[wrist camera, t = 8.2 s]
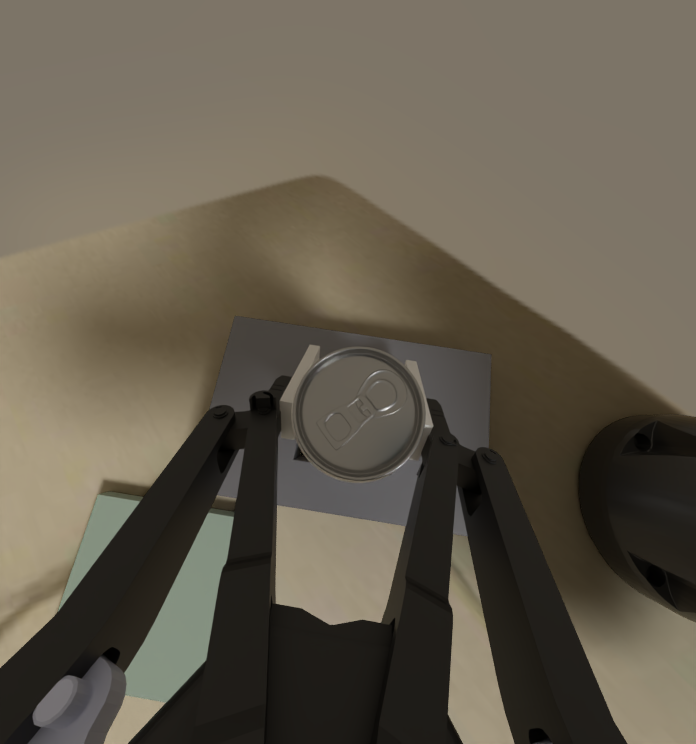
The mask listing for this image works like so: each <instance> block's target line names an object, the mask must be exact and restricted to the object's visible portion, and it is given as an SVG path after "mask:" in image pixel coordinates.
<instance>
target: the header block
mask: <svg viewBox="0 0 696 744" xmlns="http://www.w3.org/2000/svg"><path fill="white" fill-rule="evenodd" d="M309 345H316V346H320V355H319V359H321V358H322V357H324V356H325V355H327V354H329V353H331V352H333V351H336V350H339V349H343V348H347V347H370V348H374V349H378V350H381V351H384V352H386V353H388V354H390V355H392V356H393V357H395V358H396V359H398V360H399V361H400V362H402V363H403V364H404V365H405V361H406V360H411V361H416V362H417V366H418V370H419V373H420V377H421V381H422V385H423V389H424V392H425V396H426V398H429V399H435V400H437V401H438V402H439V404H440V405H441V407H442V410H443V413H444V416H445V419H446V422H447V425H448V428H449V431H450V433H451V434H452V435H454V436H455V437H456V438H457V439H458V441H459V444H460V445H462V446H464V447H466V448H468V449H471V450H473V451H476V450H477V448H480V447H487V448H489V422H490V387H491V354H486V353H479V352H472V351H466V350H459V349H453V348H446V347H439V346H433V345H426V344H419V343H413V342H406V341H399V340H393V339H386V338H380V337H373V336H366V335H360V334H353V333H346V332H340V331H333V330H327V329H320V328H313V327H307V326H300V325H293V324H287V323H280V322H273V321H267V320H260V319H254V318H247V317H240V316H235V317H234V321H233V325H232V328H231V332H230V336H229V339H228V343H227V347H226V350H225V354H224V358H223V361H222V365H221V368H220V372H219V376H218V379H217V383H216V387H215V390H214V394H213V398H212V401H211V405H210V409H211V408H213V407H215V406H219V405H228V406H231V407H232V408H233V409H234V412H240V411H249V410H250V404H249V397H250V395H252V394H253V393H255V392H257V391H262V390H267V391H269V389H270V388H271V386H272V385H273V383H274V381H275V380H276V379H277V378H278V377H280V376H281V375H283V376H290V377H293V375H294V373H295V371H296V369H297V368H298V366H299V364H300V362H301V360H302V358H303V356H304V355H305V353H306V351H307V349H308V347H309ZM210 409H209V410H210ZM300 453H301V450H300V448H299V446H298V444H297V442H296V439H294V440H291V439H285V438H281V432H280V434H279V436H278V474H277V505H280V506H286V507H292V508H298V509H305V510H311V511H317V512H323V513H329V514H335V515H341V516H347V517H353V518H359V519H366V520H372V521H378V522H384V523H390V524H396V525H402V526H406V524H407V519H408V515H409V511H410V507H411V502H412V498H413V494H414V490H415V486H416V481H417V477H418V476H417V475H416V474H417V472H418V470H419V468H420V465H421V463H422V456H420V458H419V460H418V461H416V460H410V459H408V461H407V462H406V463H405V464H403V465H402V466H401V467H400V468H399V469H398V470H396V471H395V472H393V473H392V474H390V475H388V476H386V477H384V478H382V479H379V480H376V481H372V482H366V483H351V482H344V481H340V480H337V479H334V478H332V477H330V476H328V475H326V474H324V473H322V472H321V471H320V470H318V469H317V468H316V467H314V466H313V465H312V464H311V463H310V462H309V461H308V459H307V458H306V457H305V456H302V455H300ZM243 455H244V449H239V451H238V453H237V455H236V457H235V459H234V461H233V463H232V465H231V467H230V469H229V471H228V473H227V476H226V478H225V480H224V482H223V484H222V486H221V488H220V490H219V492H218V494H217V495H219V496H225V497H231V498H237V493H238V487H239V480H240V474H241V468H242V461H243ZM453 534H457V535H463V536H467V531H466V526H465V521H464V516H463V512H462V507H461V502H460V497H459V492H458V487H457V488H456V501H455V514H454V527H453Z"/></svg>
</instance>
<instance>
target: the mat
mask: <svg viewBox="0 0 696 744" xmlns="http://www.w3.org/2000/svg"><path fill="white" fill-rule="evenodd" d="M142 498H143V497H141V496H135V495H129V494H123V493H117V492H111V491H109V492H105V493H102V494H98V496H97V499H96V502H95V505H94V508H93V511H92V513H91V516H90V519H89V522H88V525H87V528H86V531H85V534H84V537H83V540H82V542H81V545H80V548H79V551H78V554H77V557H76V560H75V563H74V566H73V568H72V571H71V574H70V577H69V580H68V583H67V586H66V589H65V592H64V595H63V597H62V600H61V603H60V606H59V609H58V611H59V610H60V608H61V607H62V606H63V604H64V603H65V602H66V600H67V599H68V598H69V596H70V595H71V594H72V592H73V591H74V590H75V588H76V587H77V585H78V584H79V583H80V581H81V580H82V579H83V577H84V576H85V575H86V573H87V572H88V571H89V569H90V568H91V567H92V565H93V564H94V563H95V561H96V560H97V559H98V557H99V556H100V555H101V553H102V552H103V551H104V549H105V548H106V547H107V545H108V544H109V543H110V541H111V540H112V539H113V537H114V536H115V535H116V533H117V532H118V531H119V529H120V528H121V527H122V525H123V524H124V523H125V521H126V520H127V519H128V517H129V516H130V515H131V513H132V512H133V511H134V509H135V508H136V506H137V505H138V504H139V502H140V501H141V500H142ZM233 519H234V512H232V511H226V510H220V509H214V508H210V510H209V512H208V514H207V516H206V518H205V520H204V522H203V524H202V526H201V528H200V531H199V533H198V535H197V537H196V539H195V541H194V543H193V545H192V547H191V549H190V551H189V553H188V555H187V557H186V559H185V561H184V563H183V565H182V567H181V569H180V571H179V573H178V575H177V577H176V579H175V581H174V584H173V586H172V588H171V590H170V592H169V594H168V596H167V598H166V600H165V602H164V604H163V606H162V608H161V610H160V612H159V614H158V616H157V618H156V620H155V622H154V624H153V626H152V628H151V630H150V631H149V633H148V635H147V637H146V639H145V641H144V643H143V644H142V646H141V647H140V649H139V651H138V652H137V654H136V656H135V657H134V659H133V660H132V662H131V664H130V665H129V667H128V668H127V670H126V671H125V673H124V674H125V676H126V683H127V685H126V693H125V695H127V696H133V697H138V698H144V699H149V700H155V701H160V702H167V701H168V700H169V699H170V698H171V697H172V696H173V695H174V694H175V693H176V692H177V691H178V690H179V688H180V687H181V686H182V685H183V684H184V683H185V682H186V681H187V680H188V679H189V678H190V677H191V676H192V675H193V674H194V672H195V671H196V670H197V669H198V668H199V667H200V666H201V665H202V664H203V663H204V662H205V661H206V658H207V652H208V646H209V640H210V634H211V628H212V622H213V616H214V610H215V604H216V599H217V593H218V587H219V581H220V576H221V572H222V569H223V566H224V565H225V564H226V561H227V556H228V550H229V544H230V538H231V531H232V525H233Z"/></svg>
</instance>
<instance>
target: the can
mask: <svg viewBox="0 0 696 744" xmlns="http://www.w3.org/2000/svg"><path fill="white" fill-rule="evenodd" d="M425 420H426V410H425V402H424V397H423V394H422V391H421V388H420V386H419V384H418V382H417V380H416V379H415V377H414V376H413V374H412V373H411V372H410V370H409V369H408V368H407V367H406V366H405V365H404V364H403V363H402V362H400V361H399V360H398V359H396V358H395V357H393V356H392V355H390V354H388V353H386V352H384V351H381V350H378V349H374V348H370V347H347V348H343V349H339V350H336V351H333V352H331V353H329V354H327V355H325V356H324V357H322V358H321V359H319V360H318V361H317V362H316V363H315V364H313V365H312V366H311V367H310V369H309V370H308V371H307V372H306V374H305V375H304V376H303V378H302V379H301V381H300V383H299V385H298V387H297V389H296V392H295V395H294V398H293V402H292V409H291V421H292V428H293V433H294V436H295V439H296V442H297V444H298V446H299V448H300V450H301V451H302V453H303V454H304V456H305V457H306V458H307V459H308V461H309V462H310V463H311V464H312V465H313V466H314V467H316V468H317V469H318V470H320V471H321V472H322V473H324V474H326V475H328V476H330V477H332V478H334V479H337V480H340V481H344V482H351V483H366V482H372V481H376V480H379V479H382V478H384V477H386V476H388V475H390V474H392V473H393V472H395V471H396V470H398V469H399V468H400V467H401V466H402V465H403V464H405V463H406V462H407V461H408V459H409V458H410V457H411V456H412V455H413V453H414V452H415V450H416V449H417V447H418V445H419V443H420V440H421V438H422V435H423V432H424V427H425Z"/></svg>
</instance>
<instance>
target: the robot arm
mask: <svg viewBox="0 0 696 744" xmlns="http://www.w3.org/2000/svg"><path fill="white" fill-rule="evenodd" d="M319 355H320V346H316V345H309V347H308V349H307V351H306V353H305V355H304V356H303V358H302V360H301V362H300V364H299V366H298V368H297V369H296V371H295V373H294V375H293V377H290V376H283V375H281V376H280V377H278V378H277V379H276V380H275V381H274V383H273V385H272V386H271V388H270V389H269V391H267V390H262V391H257V392H255V393H253V394H252V395H250V397H249V404H250V410H249V411H240V412H234V409H233V408H232V407H231V406H228V405H219V406H215V407H213V408H211V409H210V410H209V411H208V412H207V413H206V414H205V415H204V417H203V418H202V419H201V421H200V422H199V423H198V425H197V426H196V427H195V429H194V430H193V432H192V433H191V434H190V436H189V437H188V438H187V440H186V441H185V442H184V444H183V445H182V446H181V448H180V449H179V450H178V452H177V453H176V454H175V456H174V457H173V458H172V460H171V461H170V462H169V464H168V465H167V466H166V468H165V469H164V470H163V472H162V473H161V474H160V476H159V477H158V478H157V480H156V481H155V482H154V484H153V485H152V486H151V488H150V489H149V490H148V492H147V493H146V494H145V496H144V497H143V498H142V500H141V501H140V502H139V504H138V505H137V506H136V508H135V509H134V511H133V512H132V513H131V515H130V516H129V517H128V519H127V520H126V521H125V523H124V524H123V525H122V527H121V528H120V529H119V531H118V532H117V533H116V535H115V536H114V537H113V539H112V540H111V541H110V543H109V544H108V545H107V547H106V548H105V549H104V551H103V552H102V553H101V555H100V556H99V557H98V559H97V560H96V561H95V563H94V564H93V565H92V567H91V568H90V569H89V571H88V572H87V573H86V575H85V576H84V577H83V579H82V580H81V581H80V583H79V584H78V585H77V587H76V588H75V590H74V591H73V592H72V594H71V595H70V596H69V598H68V599H67V600H66V602H65V603H64V604H63V606H62V607H61V608H60V610H59V611H58V612H57V614H56V615H55V616H54V617H53V618H52V619H51V620H50V621H49V622H48V623H47V624H46V625H45V626H44V627H43V628H42V629H41V630H40V631H39V632H38V633H36V634H35V635H34V636H33V637H32V638H31V639H30V640H29V641H28V642H27V643H26V644H25V645H24V646H23V647H22V648H21V649H20V650H19V651H18V652H17V653H16V654H15V655H14V656H12V657H11V658H10V659H9V660H8V661H7V662H6V663H5V664H4V665H3V666H2V667H1V668H0V744H103V743H104V741H105V738H106V735H107V733H108V731H109V729H110V727H111V725H112V723H113V721H114V719H115V717H116V715H117V713H118V711H119V710H120V708H121V705H122V702H123V700H124V697H125V693H126V685H127V683H126V676H125V674H124V673H125V671H126V670H127V668H128V667H129V665H130V664H131V662H132V660H133V659H134V657H135V656H136V654H137V652H138V651H139V649H140V647H141V646H142V644H143V643H144V641H145V639H146V637H147V635H148V633H149V631H150V630H151V628H152V626H153V624H154V622H155V620H156V618H157V616H158V614H159V612H160V610H161V608H162V606H163V604H164V602H165V600H166V598H167V596H168V594H169V592H170V590H171V588H172V586H173V584H174V581H175V579H176V577H177V575H178V573H179V571H180V569H181V567H182V565H183V563H184V561H185V559H186V557H187V555H188V553H189V551H190V549H191V547H192V545H193V543H194V541H195V539H196V537H197V535H198V533H199V531H200V528H201V526H202V524H203V522H204V520H205V518H206V516H207V514H208V512H209V510H210V508H211V506H212V504H213V502H214V500H215V498H216V496H217V494H218V492H219V490H220V488H221V486H222V484H223V482H224V480H225V478H226V476H227V473H228V471H229V469H230V467H231V465H232V463H233V461H234V459H235V457H236V455H237V453H238V451H239V449H244V455H243V461H242V468H241V474H240V480H239V487H238V493H237V499H236V506H235V512H234V519H233V525H232V531H231V538H230V544H229V550H228V556H227V561H226V564H225V565H224V566H223V569H222V572H221V576H220V581H219V587H218V593H217V599H216V604H215V610H214V616H213V622H212V628H211V634H210V640H209V646H208V652H207V658H206V661H205V662H204V663H203V664H202V665H201V666H200V667H199V668H198V669H197V670H196V671H195V672H194V674H193V675H192V676H191V677H190V678H189V679H188V680H187V681H186V682H185V683H184V684H183V685H182V686H181V687H180V688H179V690H178V691H177V692H176V693H175V694H174V695H173V696H172V697H171V698H170V699H169V700H168V701H167V702H166V703H165V704H164V706H163V707H162V708H161V709H160V710H159V711H158V712H157V713H156V714H155V715H154V716H153V717H152V718H151V719H150V720H149V722H148V723H147V724H146V725H145V726H144V727H143V728H142V729H141V730H140V731H139V732H138V733H137V734H136V735H135V736H134V738H133V739H132V740H131V741H130V742H129V743H128V744H463V743H462V741H461V739H460V737H459V735H458V733H457V731H456V729H455V727H454V725H453V724H452V722H451V720H450V718H449V716H448V698H449V681H450V663H451V646H452V629H453V613H452V608H451V606H450V604H449V600H448V594H449V581H450V567H451V554H452V541H453V527H454V514H455V501H456V488H457V487H458V492H459V497H460V502H461V507H462V512H463V516H464V521H465V526H466V531H467V536H468V541H469V545H470V550H471V555H472V560H473V565H474V570H475V574H476V579H477V584H478V589H479V594H480V598H481V603H482V608H483V613H484V618H485V623H486V627H487V632H488V637H489V642H490V647H491V652H492V656H493V661H494V666H495V671H496V676H497V681H498V685H499V689H500V693H501V698H502V702H503V706H504V710H505V713H506V717H507V720H508V723H509V726H510V730H511V733H512V736H513V739H514V743H515V744H627V742H626V741H625V739H624V737H623V736H622V734H621V732H620V731H619V729H618V727H617V726H616V724H615V722H614V721H613V718H612V716H611V714H610V711H609V709H608V707H607V704H606V702H605V699H604V697H603V695H602V692H601V690H600V688H599V685H598V683H597V680H596V678H595V676H594V673H593V671H592V669H591V666H590V664H589V662H588V659H587V657H586V654H585V652H584V650H583V647H582V645H581V643H580V640H579V638H578V636H577V633H576V631H575V628H574V626H573V624H572V621H571V619H570V617H569V614H568V612H567V610H566V607H565V605H564V602H563V600H562V598H561V595H560V593H559V591H558V588H557V586H556V583H555V581H554V579H553V576H552V574H551V572H550V569H549V567H548V565H547V562H546V560H545V557H544V555H543V553H542V550H541V548H540V546H539V543H538V541H537V539H536V536H535V534H534V531H533V529H532V527H531V524H530V522H529V520H528V517H527V515H526V513H525V510H524V508H523V505H522V503H521V501H520V498H519V496H518V494H517V491H516V489H515V487H514V484H513V482H512V479H511V477H510V475H509V472H508V470H507V468H506V465H505V463H504V461H503V459H502V457H501V456H500V455H499V454H498V453H497V452H495V451H494V450H492V449H489V448H487V447H480V448H477V450H476V451H473V450H471V449H468V448H466V447H464V446H462V445H460V444H459V441H458V439H457V438H456V437H455V436H454V435H452V434H451V433H450V431H449V428H448V425H447V422H446V419H445V416H444V413H443V410H442V407H441V405H440V404H439V402H438V401H437V400H435V399H429V398H426V396H425V392H424V389H423V385H422V381H421V377H420V373H419V370H418V366H417V362H416V361H411V360H406V361H405V366H406V367H407V368H408V369H409V370H410V372H411V373H412V374H413V376H414V377H415V379H416V380H417V382H418V384H419V386H420V388H421V391H422V394H423V397H424V402H425V410H426V420H425V427H424V432H423V435H422V438H421V440H420V443H419V445H418V447H417V449H416V450H415V452H414V453H413V455H412V456H411V457H410V458H409V459H410V460H416V461H418V460H419V458H420V456H422V463H421V465H420V468H419V470H418V472H417V474H416V475H417V476H418V477H417V481H416V486H415V490H414V494H413V498H412V502H411V507H410V511H409V515H408V519H407V524H406V528H405V532H404V536H403V540H402V545H401V549H400V553H399V557H398V561H397V566H396V570H395V574H394V578H393V582H392V587H391V591H390V595H389V599H388V603H387V607H386V610H385V612H384V615H383V618H382V622H381V623H377V622H372V621H366V620H358V621H353V622H348V623H342V624H337V625H329V624H327V623H325V622H323V621H322V620H320V619H318V618H317V617H315V616H313V615H312V614H310V613H308V612H307V611H305V610H303V609H301V608H295V607H290V606H284V605H279V604H276V595H275V575H276V524H277V474H278V436H279V434H280V432H281V438H285V439H291V440H294V439H295V436H294V433H293V428H292V421H291V409H292V402H293V398H294V395H295V392H296V389H297V387H298V385H299V383H300V381H301V379H302V378H303V376H304V375H305V374H306V372H307V371H308V370H309V369H310V367H311V366H312V365H313V364H315V363H316V362H317V361H318V360H319ZM579 495H580V503H581V508H582V513H583V516H584V520H585V523H586V526H587V528H588V531H589V533H590V535H591V537H592V539H593V541H594V543H595V545H596V547H597V548H598V550H599V552H600V553H601V555H602V556H603V557H604V559H605V560H606V561H607V563H608V564H609V565H610V566H611V568H612V569H613V570H614V571H615V572H616V573H617V574H618V575H619V576H620V577H621V578H622V579H623V580H624V581H625V582H627V583H628V584H629V585H630V586H631V587H633V588H634V589H636V590H637V591H638V592H640V593H641V594H643V595H645V596H646V597H648V598H650V599H652V600H654V601H655V602H657V603H659V604H661V605H663V606H664V607H666V608H668V609H670V610H671V611H673V612H675V613H677V614H679V615H680V616H682V617H685V618H687V619H689V620H691V621H694V622H696V417H693V416H686V415H672V414H668V415H639V416H632V417H627V418H624V419H621V420H618V421H616V422H614V423H612V424H610V425H609V426H607V427H606V428H605V429H603V430H602V431H601V432H600V433H599V434H598V435H597V436H596V437H595V438H594V440H593V441H592V442H591V444H590V446H589V447H588V449H587V451H586V453H585V456H584V459H583V462H582V465H581V470H580V477H579Z"/></svg>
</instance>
